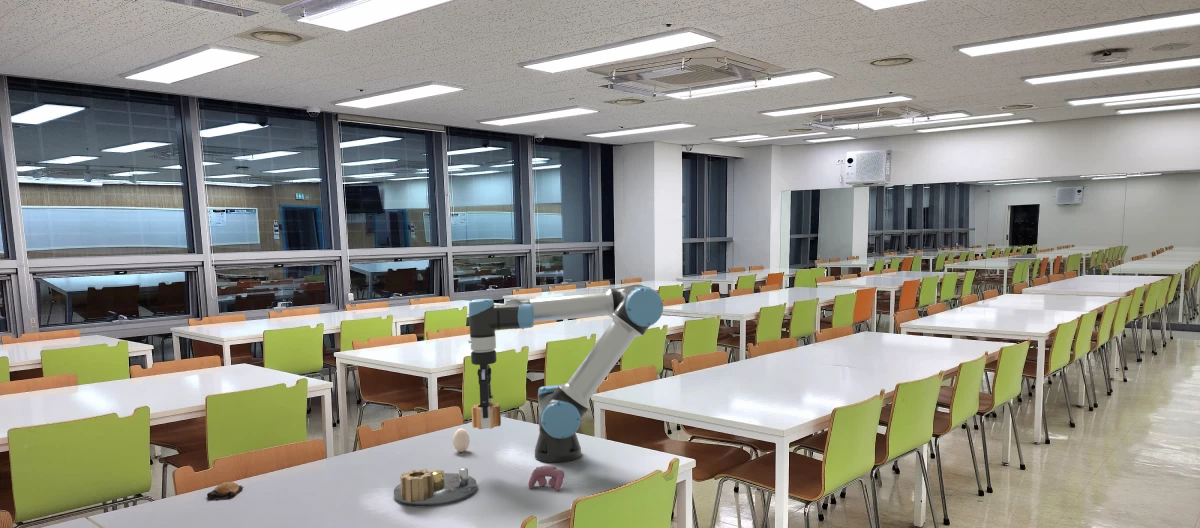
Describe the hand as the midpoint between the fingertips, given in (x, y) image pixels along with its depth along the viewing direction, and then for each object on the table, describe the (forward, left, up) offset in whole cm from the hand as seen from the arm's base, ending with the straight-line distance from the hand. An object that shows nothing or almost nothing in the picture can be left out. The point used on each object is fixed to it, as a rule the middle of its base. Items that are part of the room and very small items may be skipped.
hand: (487, 424), depth 221 cm
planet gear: (0, 0, 0) cm, 0 cm away
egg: (+10, -25, -15) cm, 31 cm away
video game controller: (-17, +15, -16) cm, 28 cm away
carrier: (+14, +13, -15) cm, 25 cm away
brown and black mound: (+76, +3, -16) cm, 77 cm away
